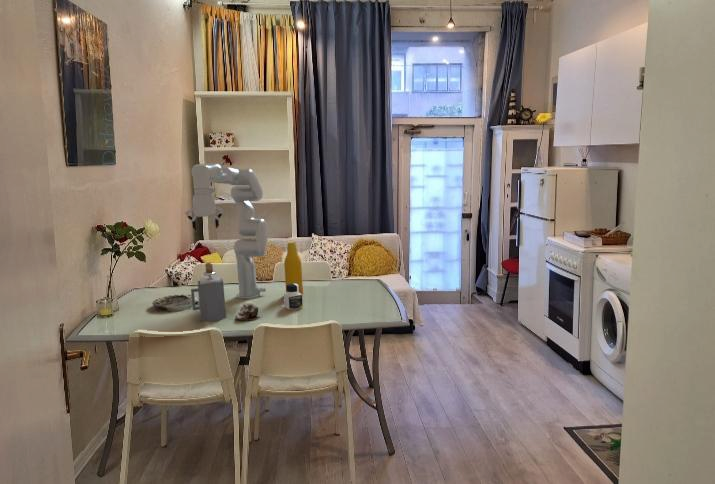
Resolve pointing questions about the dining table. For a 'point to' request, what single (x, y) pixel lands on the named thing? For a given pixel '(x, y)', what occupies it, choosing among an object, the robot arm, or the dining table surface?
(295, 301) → the medicine bottle
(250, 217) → the robot arm
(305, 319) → the dining table surface
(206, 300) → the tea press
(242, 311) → the skull
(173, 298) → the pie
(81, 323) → the dining table surface
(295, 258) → the beer bottle
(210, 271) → the plunger
